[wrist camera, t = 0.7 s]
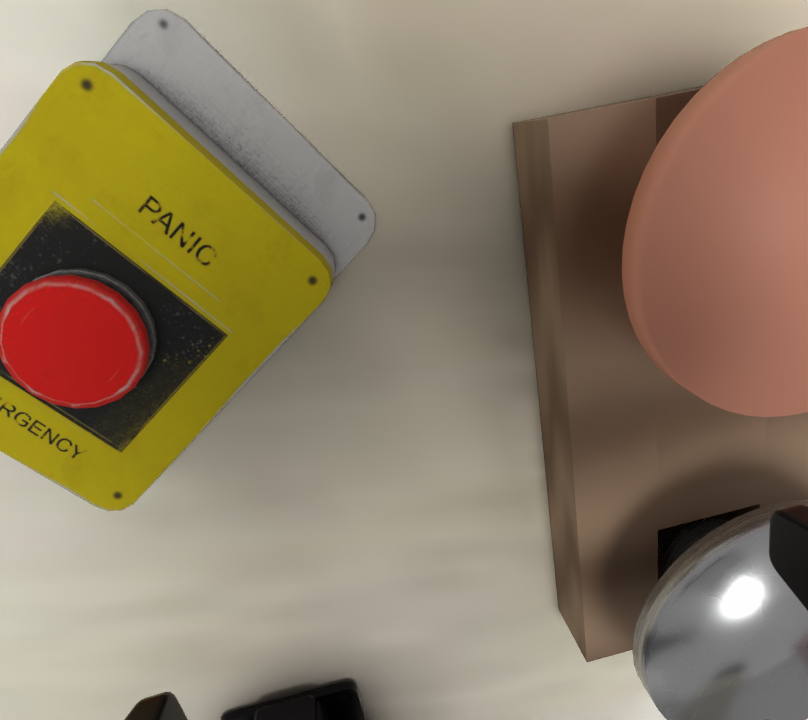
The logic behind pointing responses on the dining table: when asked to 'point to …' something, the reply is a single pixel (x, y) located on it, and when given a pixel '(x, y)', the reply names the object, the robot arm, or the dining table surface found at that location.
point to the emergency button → (153, 256)
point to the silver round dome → (724, 627)
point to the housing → (621, 381)
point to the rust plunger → (729, 237)
